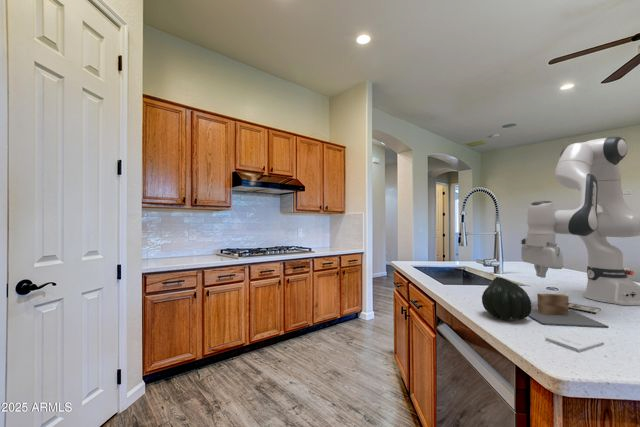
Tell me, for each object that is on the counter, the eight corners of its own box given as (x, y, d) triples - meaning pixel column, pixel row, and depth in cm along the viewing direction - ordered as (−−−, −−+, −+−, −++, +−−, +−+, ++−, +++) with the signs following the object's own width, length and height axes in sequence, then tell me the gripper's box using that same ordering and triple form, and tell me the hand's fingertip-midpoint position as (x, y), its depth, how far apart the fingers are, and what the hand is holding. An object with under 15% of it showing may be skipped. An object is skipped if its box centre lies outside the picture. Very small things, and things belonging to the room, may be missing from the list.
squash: (546, 311, 94) (525, 271, 105) (499, 312, 95) (482, 272, 105) (526, 328, 105) (508, 290, 115) (484, 328, 106) (470, 291, 116)
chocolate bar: (544, 298, 128) (600, 308, 114) (544, 300, 128) (600, 311, 114) (537, 301, 123) (595, 313, 108) (537, 304, 123) (595, 315, 108)
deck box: (563, 313, 108) (563, 294, 108) (568, 315, 105) (568, 296, 105) (537, 312, 109) (537, 293, 109) (541, 314, 106) (541, 295, 106)
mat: (572, 312, 111) (572, 310, 111) (608, 328, 95) (608, 326, 95) (516, 309, 113) (516, 308, 113) (542, 324, 97) (542, 323, 97)
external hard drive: (604, 347, 82) (578, 354, 77) (570, 336, 90) (545, 342, 85) (604, 341, 82) (578, 348, 77) (570, 330, 90) (545, 336, 85)
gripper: (569, 244, 103) (569, 283, 103) (534, 240, 123) (534, 272, 123) (549, 243, 104) (549, 282, 104) (518, 239, 124) (518, 272, 124)
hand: (541, 277), depth 113 cm, fingers closed
